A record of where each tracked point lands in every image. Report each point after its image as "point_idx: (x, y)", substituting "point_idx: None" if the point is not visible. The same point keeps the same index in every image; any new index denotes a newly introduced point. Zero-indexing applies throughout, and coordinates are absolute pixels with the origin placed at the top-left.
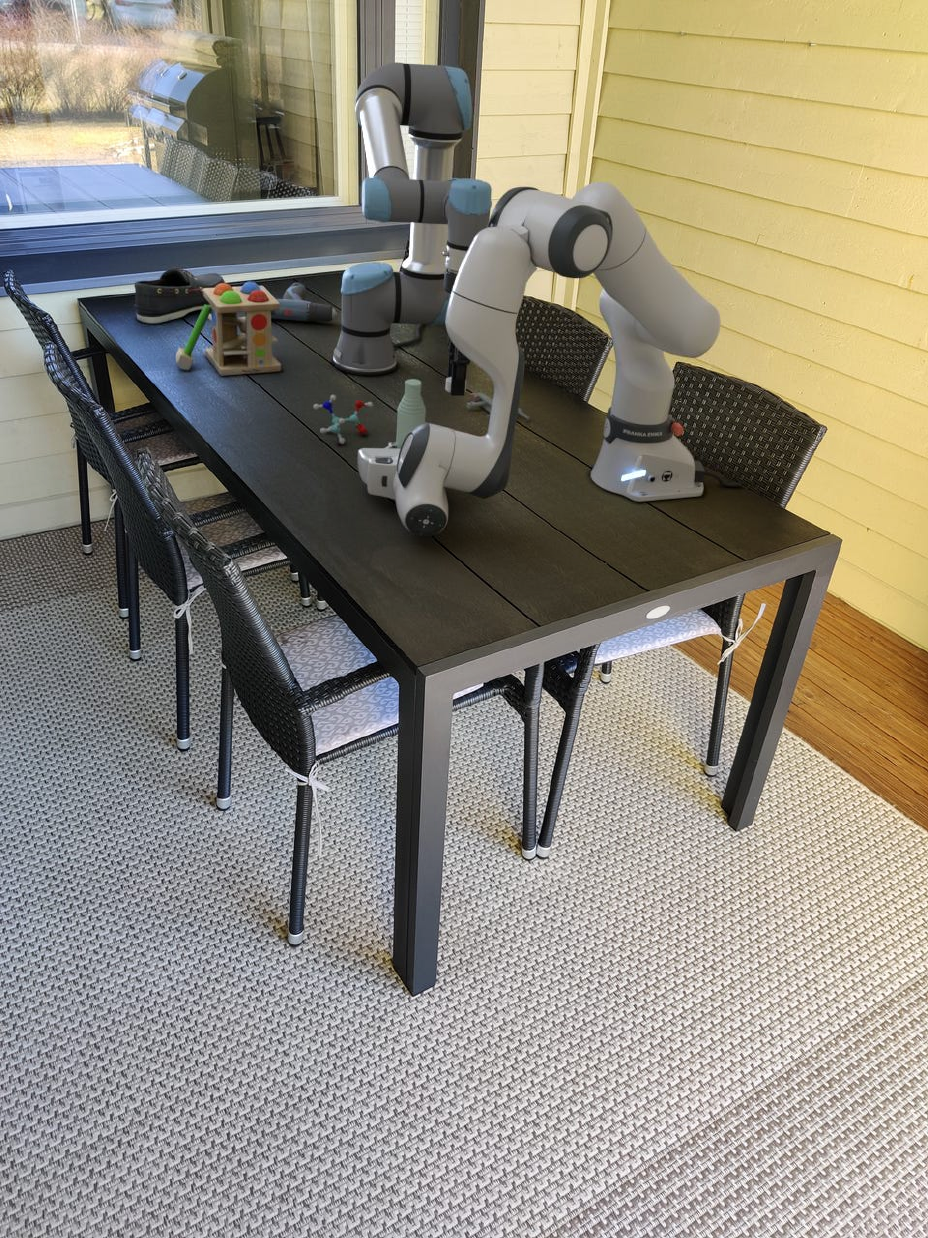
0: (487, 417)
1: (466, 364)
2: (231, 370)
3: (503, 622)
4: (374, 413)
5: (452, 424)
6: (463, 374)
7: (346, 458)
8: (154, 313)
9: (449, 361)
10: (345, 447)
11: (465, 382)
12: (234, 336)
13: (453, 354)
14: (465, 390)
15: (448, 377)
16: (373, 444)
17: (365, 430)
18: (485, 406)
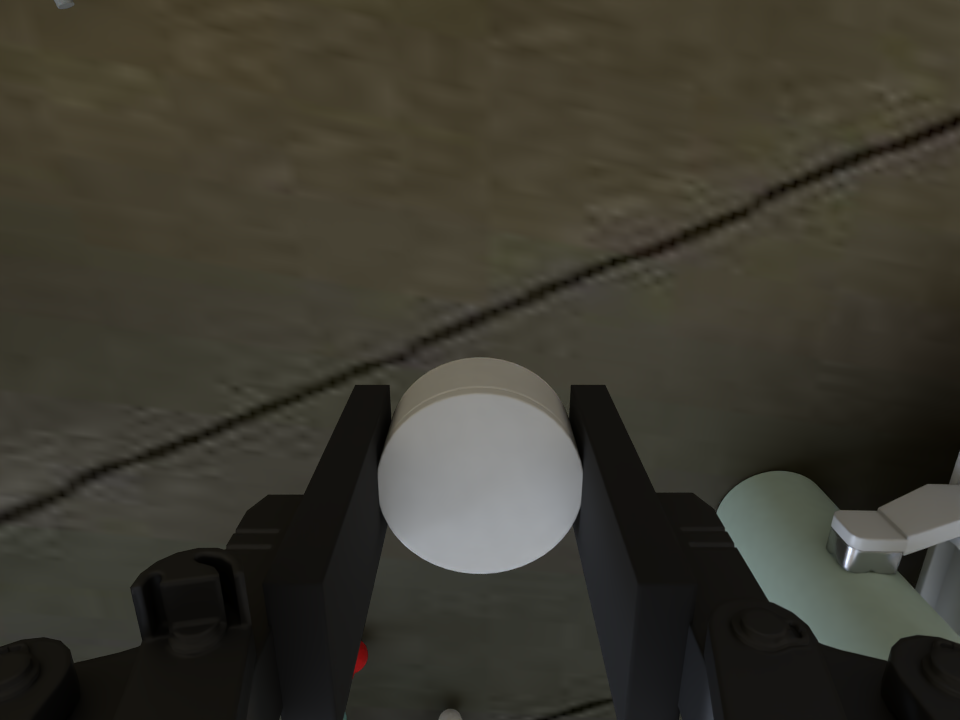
0: (73, 5)
1: (692, 579)
2: None
3: None
4: (108, 581)
5: (169, 238)
6: (731, 546)
7: (572, 701)
8: None
9: (352, 660)
10: (474, 699)
11: (541, 410)
12: None
13: (298, 689)
14: (518, 366)
15: (410, 545)
16: (443, 609)
17: (360, 652)
18: None
